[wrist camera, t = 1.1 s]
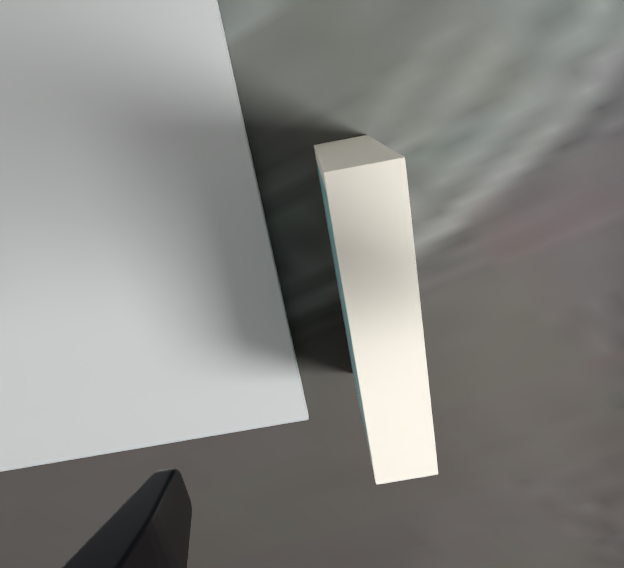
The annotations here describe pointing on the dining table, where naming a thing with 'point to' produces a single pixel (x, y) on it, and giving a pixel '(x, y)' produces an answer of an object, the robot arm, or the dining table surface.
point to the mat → (130, 236)
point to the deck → (380, 301)
